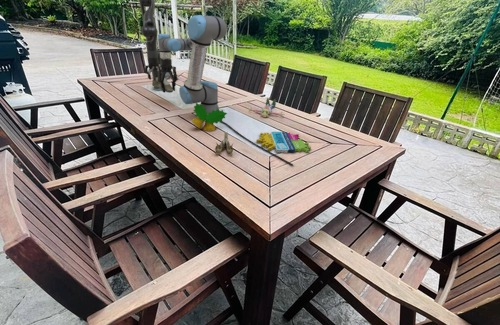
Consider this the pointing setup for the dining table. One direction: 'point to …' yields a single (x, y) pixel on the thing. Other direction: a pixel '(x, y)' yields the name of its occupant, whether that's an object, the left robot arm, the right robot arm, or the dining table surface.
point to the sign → (283, 142)
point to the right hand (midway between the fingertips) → (168, 91)
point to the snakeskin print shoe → (156, 84)
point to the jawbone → (224, 145)
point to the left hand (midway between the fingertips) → (155, 78)
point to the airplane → (168, 75)
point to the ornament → (207, 117)
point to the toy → (267, 109)
